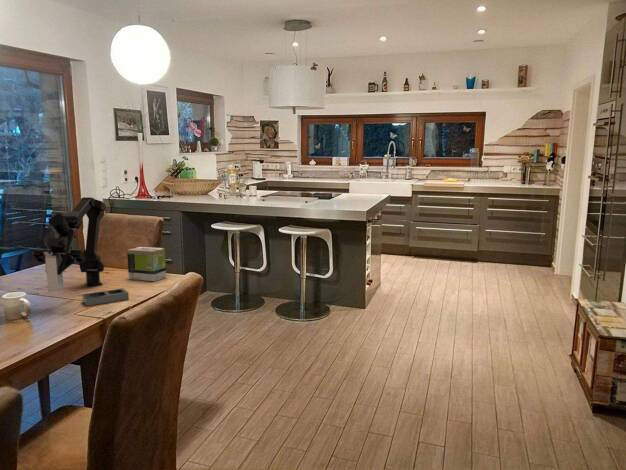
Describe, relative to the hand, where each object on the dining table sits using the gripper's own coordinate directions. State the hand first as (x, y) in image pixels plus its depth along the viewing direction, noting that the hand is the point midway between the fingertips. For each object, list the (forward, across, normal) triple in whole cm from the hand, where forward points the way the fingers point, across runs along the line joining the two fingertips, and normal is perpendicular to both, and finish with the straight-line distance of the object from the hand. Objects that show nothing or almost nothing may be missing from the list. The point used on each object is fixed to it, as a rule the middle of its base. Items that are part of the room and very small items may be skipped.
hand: (52, 274), depth 186 cm
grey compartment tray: (+3, +16, +16) cm, 23 cm away
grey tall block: (+4, 0, +6) cm, 7 cm away
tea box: (-23, +21, +42) cm, 53 cm away
